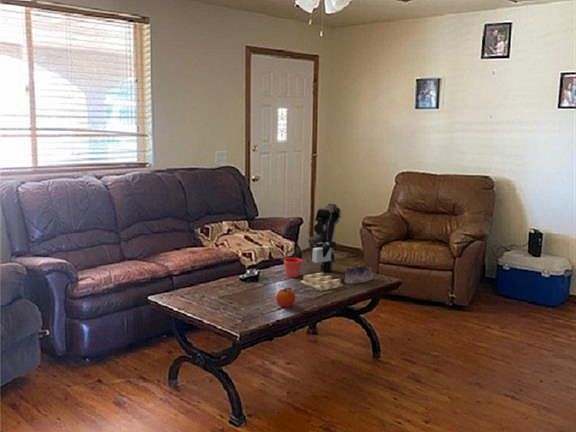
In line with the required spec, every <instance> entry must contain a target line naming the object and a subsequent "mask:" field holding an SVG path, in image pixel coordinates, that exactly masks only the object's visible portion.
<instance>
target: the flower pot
mask: <svg viewBox="0 0 576 432" xmlns="http://www.w3.org/2000/svg"><path fill="white" fill-rule="evenodd" d="M302 262H303V260H302V258H298V257H286V258H284V259H283V264H284V265H283V266H284V272H285V276H286V277H288V278H298V277H299V275H300V273H301V267H302V264H303V263H302Z"/></svg>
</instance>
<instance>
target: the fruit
mask: <svg viewBox="0 0 576 432" xmlns="http://www.w3.org/2000/svg"><path fill="white" fill-rule="evenodd" d="M275 300H276V303H277V305H278V306H280V307H281V308H290V307H292V306H293V305H294V304H295V301H296V294H295V292H294V290H292V288H291V287H284V288H283V289H279V290H278V292H277V294H276V296H275Z"/></svg>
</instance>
